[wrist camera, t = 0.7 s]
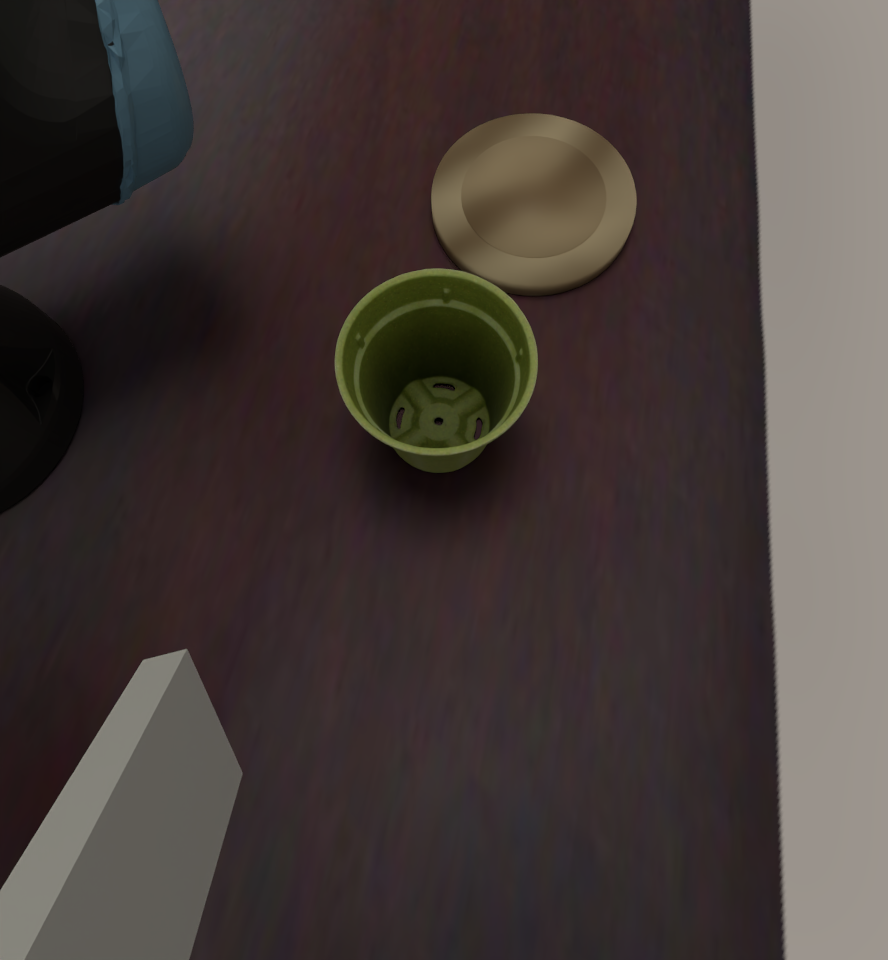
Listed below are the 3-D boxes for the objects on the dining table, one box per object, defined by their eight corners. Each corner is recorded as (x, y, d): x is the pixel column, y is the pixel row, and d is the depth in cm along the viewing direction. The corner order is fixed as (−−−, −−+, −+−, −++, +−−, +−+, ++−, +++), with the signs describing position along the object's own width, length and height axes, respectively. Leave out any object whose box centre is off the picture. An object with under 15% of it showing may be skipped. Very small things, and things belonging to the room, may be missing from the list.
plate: (391, 213, 42) (388, 200, 40) (522, 96, 44) (524, 80, 43) (541, 334, 39) (544, 323, 38) (672, 202, 41) (678, 189, 40)
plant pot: (526, 360, 39) (545, 277, 30) (512, 510, 36) (529, 465, 28) (374, 345, 39) (351, 259, 31) (350, 492, 36) (318, 442, 28)
